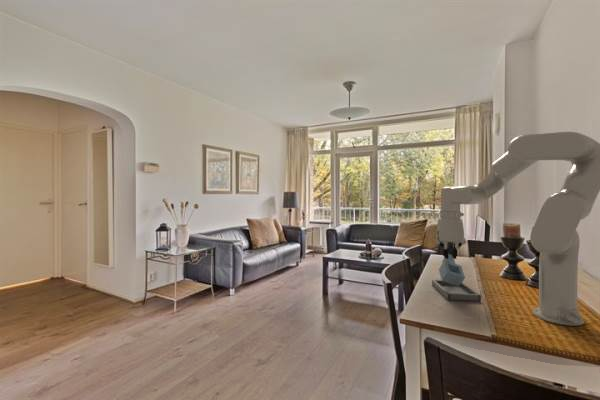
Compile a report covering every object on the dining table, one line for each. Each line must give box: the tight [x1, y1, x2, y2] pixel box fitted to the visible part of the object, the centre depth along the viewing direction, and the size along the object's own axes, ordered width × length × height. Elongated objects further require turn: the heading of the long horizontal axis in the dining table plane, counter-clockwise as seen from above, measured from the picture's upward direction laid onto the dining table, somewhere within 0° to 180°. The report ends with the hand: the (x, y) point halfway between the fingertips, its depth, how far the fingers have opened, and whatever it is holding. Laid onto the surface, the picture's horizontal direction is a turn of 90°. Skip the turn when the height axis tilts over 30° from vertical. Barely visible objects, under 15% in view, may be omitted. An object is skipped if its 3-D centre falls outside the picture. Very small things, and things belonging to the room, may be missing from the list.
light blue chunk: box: [438, 253, 466, 286], centre depth 122 cm, size 7×13×5 cm
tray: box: [431, 279, 482, 303], centre depth 121 cm, size 19×12×2 cm, turn 172°
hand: (450, 257), depth 125 cm, fingers closed on light blue chunk, 2 cm apart
